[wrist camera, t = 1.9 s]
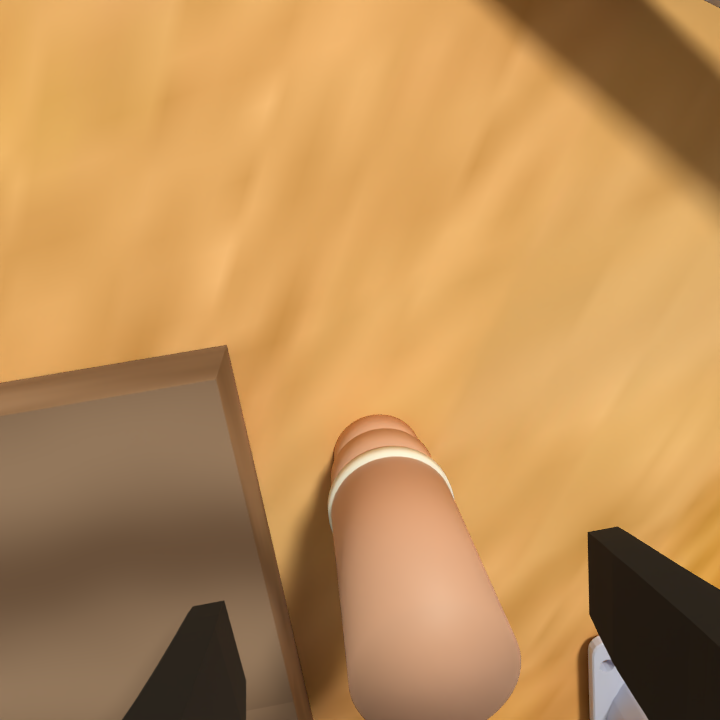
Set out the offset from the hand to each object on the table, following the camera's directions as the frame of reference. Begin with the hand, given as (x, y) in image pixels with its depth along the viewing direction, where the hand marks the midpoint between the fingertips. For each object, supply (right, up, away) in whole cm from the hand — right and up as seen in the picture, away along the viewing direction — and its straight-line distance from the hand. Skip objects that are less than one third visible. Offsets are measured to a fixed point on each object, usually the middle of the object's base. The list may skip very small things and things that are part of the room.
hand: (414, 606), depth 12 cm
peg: (-1, +2, +6) cm, 6 cm away
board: (-9, -4, +7) cm, 12 cm away
